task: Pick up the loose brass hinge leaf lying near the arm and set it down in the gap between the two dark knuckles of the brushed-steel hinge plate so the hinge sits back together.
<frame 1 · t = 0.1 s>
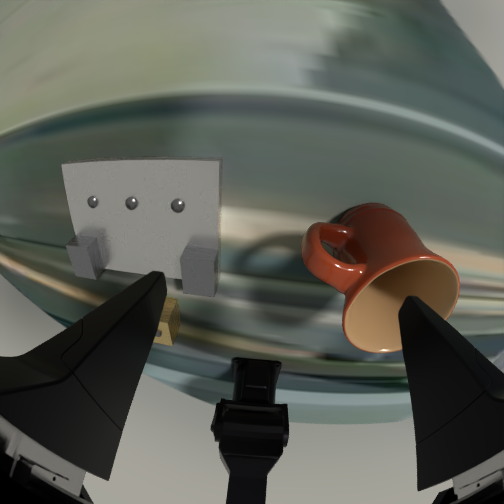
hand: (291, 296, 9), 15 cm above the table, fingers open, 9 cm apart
mug: (353, 225, 24), on the table
steel hinge plate: (139, 217, 25), on the table
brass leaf: (156, 306, 31), on the table
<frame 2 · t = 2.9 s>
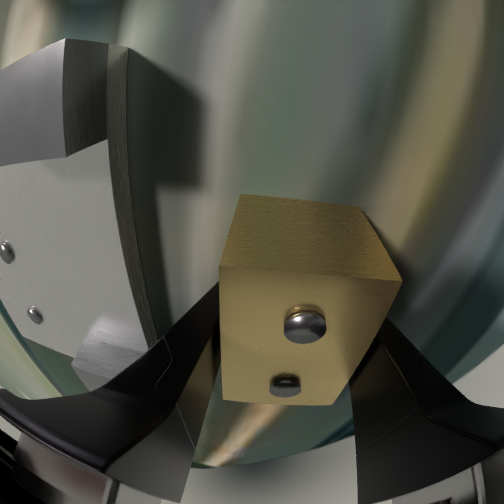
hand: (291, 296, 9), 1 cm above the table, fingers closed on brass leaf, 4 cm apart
steel hinge plate: (41, 243, 11), on the table
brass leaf: (289, 272, 10), on the table, touching gripper
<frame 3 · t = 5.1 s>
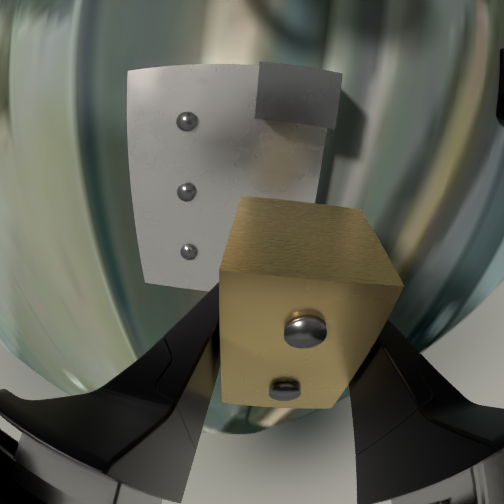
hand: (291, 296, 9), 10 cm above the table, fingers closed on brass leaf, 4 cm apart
steel hinge plate: (221, 187, 18), on the table
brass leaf: (289, 275, 10), point 9 cm above the table, touching gripper
when the fingers open (3 cm above the table, at t = 6.8 s): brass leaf drops 1 cm, resting on steel hinge plate.
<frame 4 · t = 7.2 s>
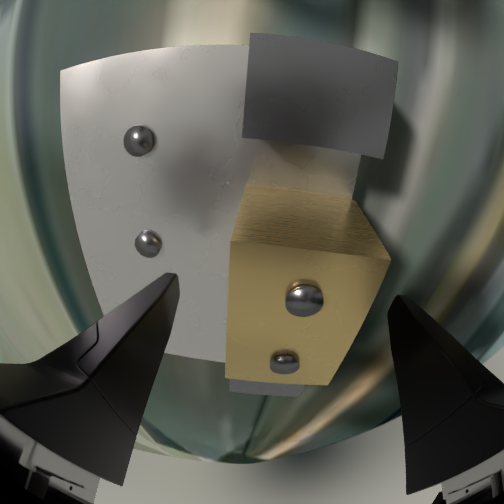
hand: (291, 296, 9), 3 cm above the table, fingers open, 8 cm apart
steel hinge plate: (198, 234, 12), on the table
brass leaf: (289, 259, 11), point 1 cm above the table, touching steel hinge plate
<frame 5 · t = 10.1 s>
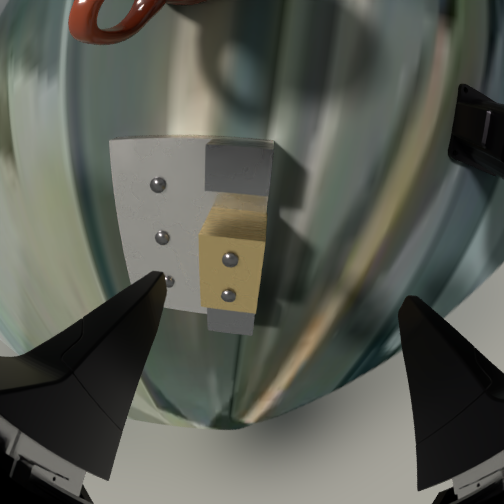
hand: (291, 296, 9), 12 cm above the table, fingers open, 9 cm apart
steel hinge plate: (189, 232, 22), on the table
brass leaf: (236, 245, 21), point 1 cm above the table, touching steel hinge plate
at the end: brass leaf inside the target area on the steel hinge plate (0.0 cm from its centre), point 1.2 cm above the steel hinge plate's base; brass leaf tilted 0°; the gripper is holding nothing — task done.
